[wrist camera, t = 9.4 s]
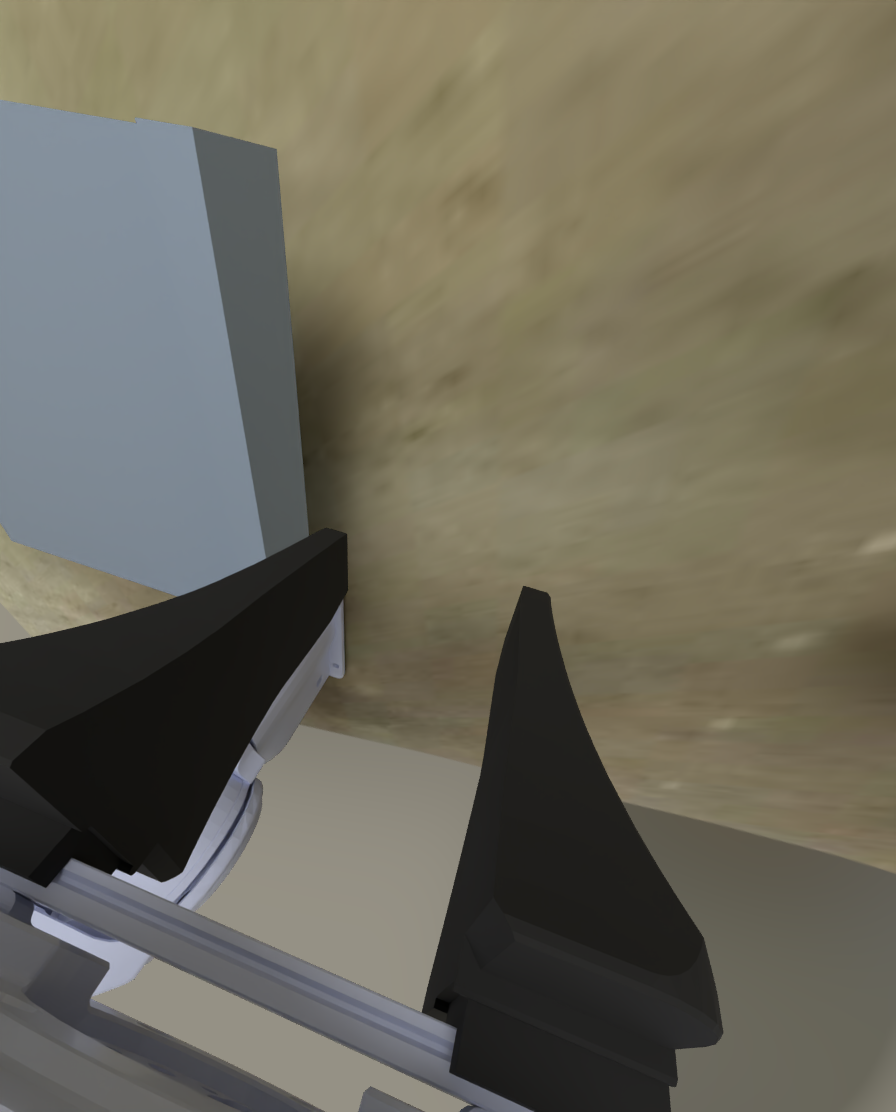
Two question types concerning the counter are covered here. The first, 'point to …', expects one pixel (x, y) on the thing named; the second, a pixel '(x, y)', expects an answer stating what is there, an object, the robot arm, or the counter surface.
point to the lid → (145, 349)
